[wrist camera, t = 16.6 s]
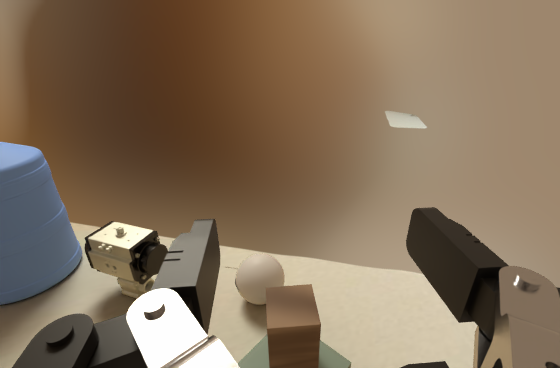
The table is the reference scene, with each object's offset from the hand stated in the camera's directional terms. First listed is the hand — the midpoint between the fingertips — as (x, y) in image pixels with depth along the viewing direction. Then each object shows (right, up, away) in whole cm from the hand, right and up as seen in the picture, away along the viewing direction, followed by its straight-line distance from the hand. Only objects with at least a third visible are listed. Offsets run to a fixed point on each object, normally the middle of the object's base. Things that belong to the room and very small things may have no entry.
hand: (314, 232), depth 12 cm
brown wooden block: (0, -19, +21) cm, 29 cm away
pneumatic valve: (-24, -16, +34) cm, 45 cm away
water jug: (-45, -14, +39) cm, 61 cm away
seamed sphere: (-5, -15, +34) cm, 37 cm away
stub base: (0, -21, +22) cm, 30 cm away
